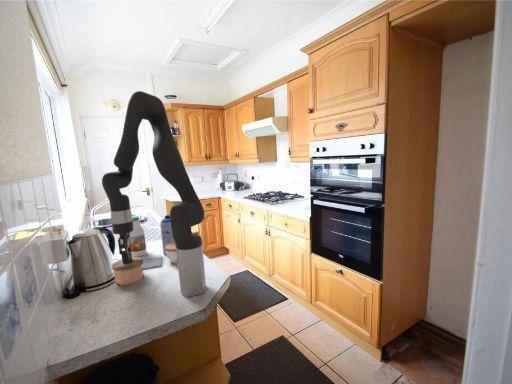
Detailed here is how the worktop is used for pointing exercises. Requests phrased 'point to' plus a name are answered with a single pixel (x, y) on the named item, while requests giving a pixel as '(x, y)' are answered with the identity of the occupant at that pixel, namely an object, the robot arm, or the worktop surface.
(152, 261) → the mat
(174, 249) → the lidded jar
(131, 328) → the worktop surface
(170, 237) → the aerosol can
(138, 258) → the lid
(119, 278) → the bowl
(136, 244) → the milk bottle
